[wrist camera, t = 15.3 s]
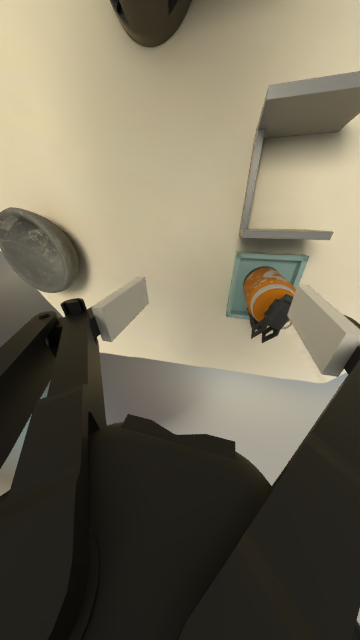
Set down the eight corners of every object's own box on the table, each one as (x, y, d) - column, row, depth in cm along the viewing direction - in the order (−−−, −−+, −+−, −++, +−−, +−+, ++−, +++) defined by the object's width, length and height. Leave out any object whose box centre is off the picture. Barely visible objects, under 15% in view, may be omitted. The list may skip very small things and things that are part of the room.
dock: (256, 130, 31) (268, 85, 21) (341, 121, 28) (403, 64, 18) (239, 234, 40) (242, 237, 30) (302, 235, 37) (329, 240, 27)
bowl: (37, 273, 62) (7, 281, 54) (21, 201, 50) (-21, 197, 41) (92, 293, 60) (70, 304, 52) (89, 223, 48) (59, 223, 39)
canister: (288, 273, 41) (330, 308, 24) (263, 310, 47) (281, 358, 30) (254, 260, 41) (271, 284, 24) (233, 298, 47) (235, 339, 30)
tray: (236, 251, 42) (237, 253, 39) (303, 254, 39) (309, 256, 36) (226, 311, 50) (226, 316, 48) (280, 317, 47) (283, 323, 45)
